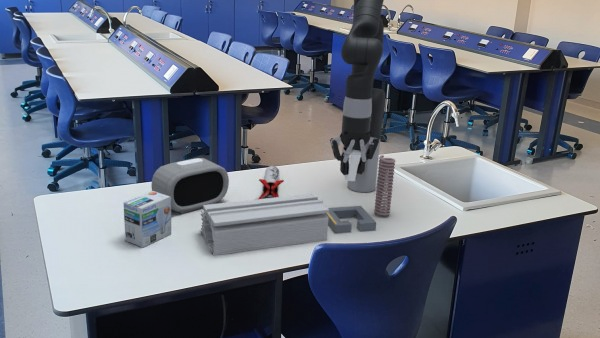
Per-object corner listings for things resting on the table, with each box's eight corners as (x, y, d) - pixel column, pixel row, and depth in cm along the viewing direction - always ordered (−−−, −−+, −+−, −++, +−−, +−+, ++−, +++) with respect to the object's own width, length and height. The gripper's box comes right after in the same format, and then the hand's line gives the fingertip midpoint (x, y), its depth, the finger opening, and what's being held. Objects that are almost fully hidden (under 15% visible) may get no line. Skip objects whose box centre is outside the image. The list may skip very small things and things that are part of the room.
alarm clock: (168, 218, 169) (167, 173, 164) (152, 207, 175) (150, 163, 171) (229, 202, 182) (229, 160, 177) (211, 192, 188) (211, 151, 184)
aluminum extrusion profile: (200, 233, 162) (200, 198, 158) (306, 220, 173) (308, 187, 170) (214, 256, 149) (214, 219, 146) (326, 241, 161) (329, 206, 157)
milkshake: (360, 183, 165) (365, 148, 162) (341, 180, 166) (345, 145, 162) (362, 178, 169) (366, 144, 166) (343, 175, 170) (347, 141, 167)
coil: (391, 213, 180) (397, 156, 174) (386, 219, 176) (393, 160, 170) (376, 210, 181) (382, 153, 175) (371, 215, 177) (377, 157, 171)
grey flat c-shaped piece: (321, 215, 175) (322, 207, 175) (360, 213, 179) (361, 204, 178) (334, 233, 165) (335, 224, 164) (375, 230, 168) (376, 221, 167)
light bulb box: (143, 248, 151) (141, 208, 148) (124, 241, 154) (121, 202, 151) (172, 233, 160) (172, 195, 156) (154, 227, 163) (153, 190, 159)
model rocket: (294, 171, 205) (274, 150, 203) (294, 192, 182) (272, 168, 180) (270, 191, 207) (250, 170, 204) (267, 214, 184) (245, 190, 182)
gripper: (376, 109, 167) (370, 168, 172) (327, 110, 163) (323, 170, 168) (387, 116, 160) (381, 177, 165) (336, 117, 156) (331, 179, 162)
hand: (351, 173), depth 167 cm, fingers closed on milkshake, 4 cm apart
